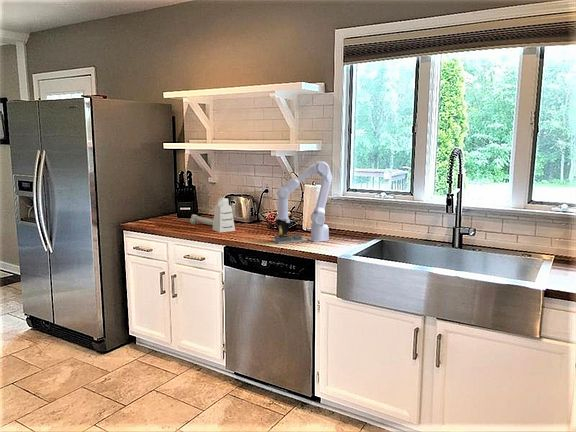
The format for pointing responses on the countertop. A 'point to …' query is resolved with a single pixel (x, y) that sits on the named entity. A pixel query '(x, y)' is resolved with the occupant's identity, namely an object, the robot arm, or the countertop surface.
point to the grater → (223, 216)
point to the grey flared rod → (195, 219)
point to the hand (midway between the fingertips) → (282, 233)
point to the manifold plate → (288, 239)
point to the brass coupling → (281, 232)
